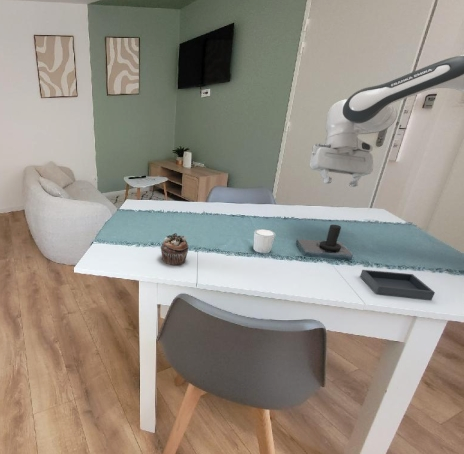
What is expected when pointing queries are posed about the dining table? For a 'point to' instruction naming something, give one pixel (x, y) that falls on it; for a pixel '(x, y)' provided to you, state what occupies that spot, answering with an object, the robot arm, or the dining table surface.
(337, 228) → the plug
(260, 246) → the white cylinder
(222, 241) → the dining table surface
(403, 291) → the dark grey tray
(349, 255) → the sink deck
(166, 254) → the cupcake
